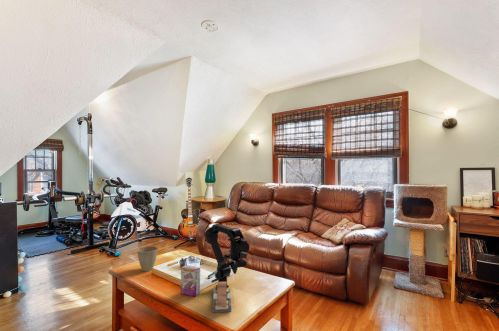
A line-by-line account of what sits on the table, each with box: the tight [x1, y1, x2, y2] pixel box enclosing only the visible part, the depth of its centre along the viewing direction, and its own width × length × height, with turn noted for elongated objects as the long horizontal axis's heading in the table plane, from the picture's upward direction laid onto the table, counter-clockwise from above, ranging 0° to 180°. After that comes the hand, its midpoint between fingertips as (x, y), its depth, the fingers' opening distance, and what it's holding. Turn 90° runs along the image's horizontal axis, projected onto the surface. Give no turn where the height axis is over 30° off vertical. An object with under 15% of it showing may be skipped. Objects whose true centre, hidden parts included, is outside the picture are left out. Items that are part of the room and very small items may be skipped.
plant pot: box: [137, 245, 159, 272], centre depth 197 cm, size 15×15×16 cm
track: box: [212, 288, 232, 313], centre depth 149 cm, size 20×10×4 cm, turn 5°
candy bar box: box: [180, 264, 201, 297], centre depth 159 cm, size 11×5×16 cm, turn 71°
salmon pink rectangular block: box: [215, 281, 228, 310], centre depth 142 cm, size 7×7×12 cm
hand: (234, 273), depth 160 cm, fingers closed
